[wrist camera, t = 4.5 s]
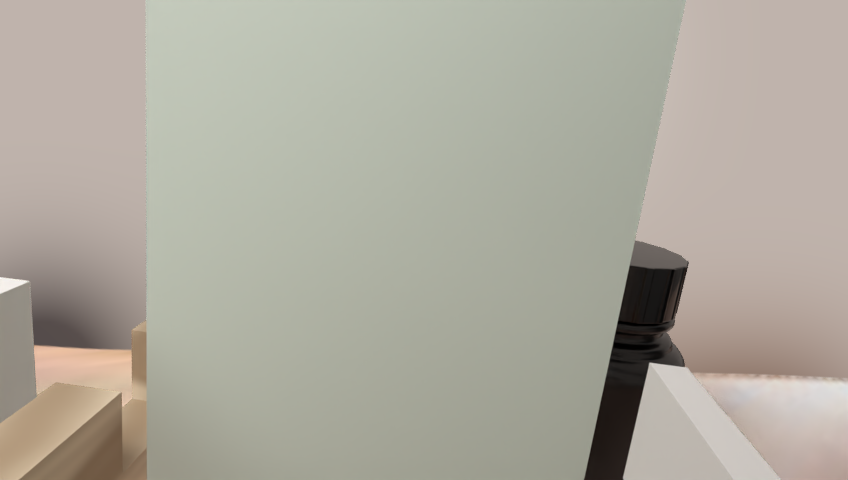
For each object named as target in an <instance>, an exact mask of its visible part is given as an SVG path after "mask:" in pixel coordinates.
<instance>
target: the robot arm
mask: <svg viewBox="0 0 848 480" xmlns="http://www.w3.org/2000/svg"><path fill="white" fill-rule="evenodd" d="M36 397H37V395H36V378H35V360H34V343H33V325H32V307H31V290H30V281H25V280H17V279H10V278H1V277H0V423H1V422H2V421H4V420H5V419H7V418H8V417H10V416H11V415H12V414H14V413H15V412H17V411H18V410H19V409H21V408H22V407H24V406H25V405H26V404H28V403H29V402H31V401H32V400H34V399H35V398H36ZM623 479H624V480H781V479H780V477H779V476H778V475H777V474H776V473H775V471H774V470H773V469H772V468H771V467H770V466H769V464H768V463H767V462H766V461H765V460H764V458H763V457H762V456H761V455H760V454H759V452H758V451H757V450H756V449H755V448H754V447H753V445H752V444H751V443H750V442H749V441H748V439H747V438H746V437H745V436H744V435H743V433H742V432H741V431H740V430H739V429H738V427H737V426H736V425H735V424H734V423H733V422H732V420H731V419H730V418H729V417H728V416H727V414H726V413H725V412H724V411H723V410H722V408H721V407H720V406H719V405H718V404H717V403H716V401H715V400H714V399H713V398H712V397H711V395H710V394H709V393H708V392H707V391H706V389H705V388H704V387H703V386H702V385H701V384H700V382H699V381H698V380H697V379H696V378H695V376H694V375H693V374H692V373H691V372H690V371H689V369H688V368H687V367H679V366H671V365H664V364H656V363H649V367H648V372H647V376H646V380H645V385H644V389H643V393H642V398H641V402H640V406H639V411H638V415H637V419H636V424H635V428H634V432H633V437H632V441H631V445H630V450H629V454H628V458H627V463H626V467H625V471H624V476H623Z"/></svg>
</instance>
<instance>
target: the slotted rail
mask: <svg viewBox="0 0 848 480" xmlns="http://www.w3.org/2000/svg"><path fill="white" fill-rule="evenodd" d="M0 480H147V330H146V320H145V321H144V322H142V323H141V324H139V325H138V326H137V327H135V328H134V329H132V399H131V400H130V401H129V402H128V403H127V404H126V405H125V406H124V407H123V408H122V392H119V391H112V390H105V389H98V388H91V387H84V386H77V385H70V384H63V383H55V384H53V385H52V386H50V387H49V388H47V389H46V390H45V391H43V392H42V393H40V394H39V395H37V397H36V398H35V399H34V400H32V401H31V402H29V403H28V404H26V405H25V406H24V407H22V408H21V409H19V410H18V411H17V412H15V413H14V414H12V415H11V416H10V417H8V418H7V419H5V420H4V421H2V422H1V423H0Z"/></svg>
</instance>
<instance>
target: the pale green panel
mask: <svg viewBox="0 0 848 480" xmlns="http://www.w3.org/2000/svg"><path fill="white" fill-rule="evenodd" d="M685 2H686V0H146V287H147V288H146V302H147V303H146V307H147V308H146V309H147V310H146V311H147V312H146V315H147V316H146V317H147V318H146V319H147V320H146V330H147V480H584V477H585V473H586V468H587V463H588V459H589V454H590V449H591V445H592V440H593V435H594V430H595V426H596V421H597V416H598V412H599V407H600V402H601V398H602V393H603V388H604V383H605V379H606V374H607V369H608V365H609V360H610V355H611V351H612V346H613V341H614V337H615V332H616V327H617V322H618V318H619V313H620V308H621V304H622V299H623V294H624V290H625V285H626V280H627V275H628V271H629V266H630V261H631V257H632V252H633V247H634V243H635V238H636V233H637V228H638V224H639V219H640V214H641V209H642V205H643V200H644V196H645V191H646V186H647V181H648V177H649V172H650V167H651V162H652V158H653V153H654V149H655V144H656V139H657V134H658V129H659V125H660V120H661V115H662V111H663V106H664V101H665V97H666V92H667V87H668V83H669V78H670V73H671V69H672V64H673V59H674V55H675V49H676V45H677V40H678V35H679V31H680V26H681V22H682V17H683V12H684V7H685Z"/></svg>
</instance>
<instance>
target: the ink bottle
mask: <svg viewBox="0 0 848 480" xmlns="http://www.w3.org/2000/svg"><path fill="white" fill-rule="evenodd" d="M688 264H689V262H688V261H686V260H685V259H684V258H683V257H682V256H680V255H678V254H676V253H673V252H671V251H669V250H667V249H664V248H661V247H657V246H654V245H650V244H647V243H644V242H639V241H635V243H634V247H633V252H632V257H631V261H630V266H629V271H628V275H627V280H626V285H625V290H624V294H623V299H622V304H621V308H620V313H619V318H618V322H617V327H616V332H615V337H614V341H613V346H612V351H611V355H610V360H609V365H608V369H607V374H606V379H605V383H604V388H603V393H602V398H601V402H600V407H599V412H598V416H597V421H596V426H595V430H594V435H593V440H592V445H591V449H590V454H589V459H588V463H587V468H586V473H585V477H584V480H624V479H623V476H624V471H625V467H626V463H627V458H628V454H629V450H630V445H631V441H632V437H633V432H634V428H635V424H636V419H637V415H638V411H639V406H640V402H641V398H642V393H643V389H644V385H645V380H646V376H647V372H648V367H649V363H656V364H664V365H671V366H679V367H685V363H684V359H683V357H682V355H681V353H680V351H679V350H678V348H677V347H676V346H675V345H674V344H673V343H672V341H671V338H670V336H669V335H668V334H667V332H668V331H669V330H671V329H672V328H673V326H674V323H675V316H676V313H677V310H678V306H679V301H680V297H681V293H682V289H683V284H684V280H685V276H686V272H687V268H688Z"/></svg>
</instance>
